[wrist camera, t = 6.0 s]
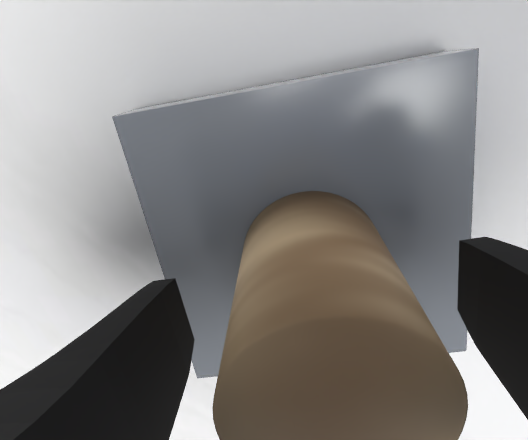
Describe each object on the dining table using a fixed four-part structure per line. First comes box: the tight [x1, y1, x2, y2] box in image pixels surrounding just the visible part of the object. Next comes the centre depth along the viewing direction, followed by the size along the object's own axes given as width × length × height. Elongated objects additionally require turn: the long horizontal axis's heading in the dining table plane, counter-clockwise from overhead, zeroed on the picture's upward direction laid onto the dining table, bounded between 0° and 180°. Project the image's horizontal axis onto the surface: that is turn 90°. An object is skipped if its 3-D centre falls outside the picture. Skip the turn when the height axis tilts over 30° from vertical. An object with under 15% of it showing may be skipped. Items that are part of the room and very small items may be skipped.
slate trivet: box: [113, 48, 479, 378], centre depth 13 cm, size 10×10×2 cm
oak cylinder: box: [213, 191, 468, 440], centre depth 9 cm, size 4×4×6 cm
